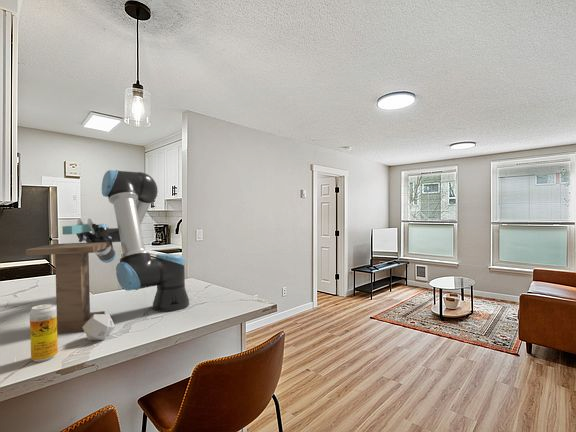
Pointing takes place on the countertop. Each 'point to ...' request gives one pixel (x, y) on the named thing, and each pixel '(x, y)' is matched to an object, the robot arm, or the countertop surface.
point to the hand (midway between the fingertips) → (83, 221)
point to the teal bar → (75, 229)
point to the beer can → (43, 332)
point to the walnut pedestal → (71, 282)
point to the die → (98, 327)
